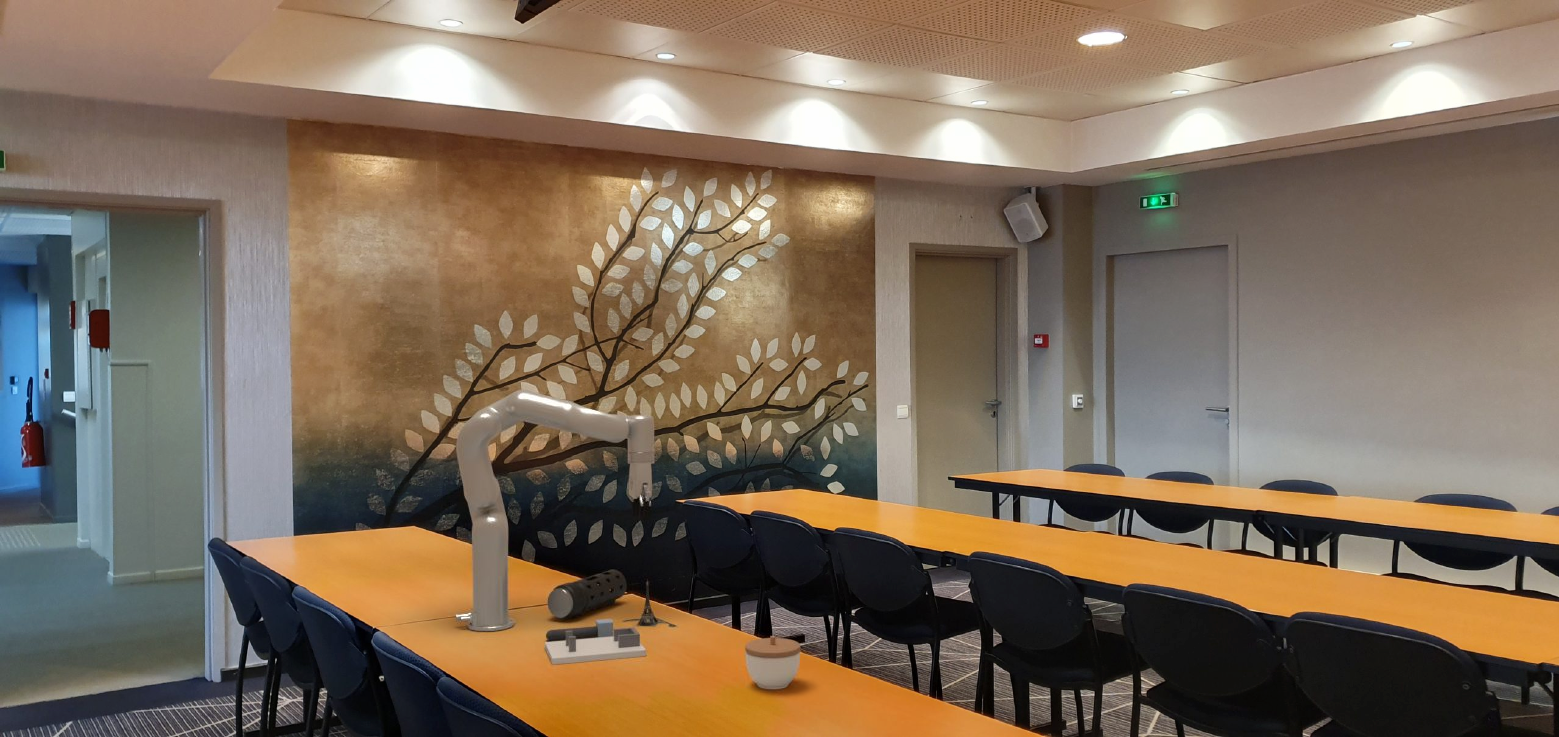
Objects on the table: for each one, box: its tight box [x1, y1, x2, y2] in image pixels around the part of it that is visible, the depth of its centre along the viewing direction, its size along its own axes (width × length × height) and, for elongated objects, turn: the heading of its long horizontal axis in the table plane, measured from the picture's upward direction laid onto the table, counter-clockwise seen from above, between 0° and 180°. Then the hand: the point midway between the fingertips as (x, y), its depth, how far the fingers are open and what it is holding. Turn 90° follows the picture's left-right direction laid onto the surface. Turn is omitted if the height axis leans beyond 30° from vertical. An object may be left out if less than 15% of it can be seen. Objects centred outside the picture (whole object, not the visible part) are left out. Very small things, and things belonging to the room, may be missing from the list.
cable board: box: [544, 626, 647, 666], centre depth 278 cm, size 23×16×5 cm
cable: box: [545, 618, 614, 642], centre depth 292 cm, size 17×4×4 cm, turn 109°
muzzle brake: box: [547, 569, 628, 619], centre depth 322 cm, size 10×28×10 cm, turn 155°
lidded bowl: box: [744, 635, 802, 691], centre depth 250 cm, size 13×13×11 cm
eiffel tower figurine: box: [622, 580, 677, 628], centre depth 307 cm, size 15×10×13 cm
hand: (641, 517), depth 315 cm, fingers open, 9 cm apart
